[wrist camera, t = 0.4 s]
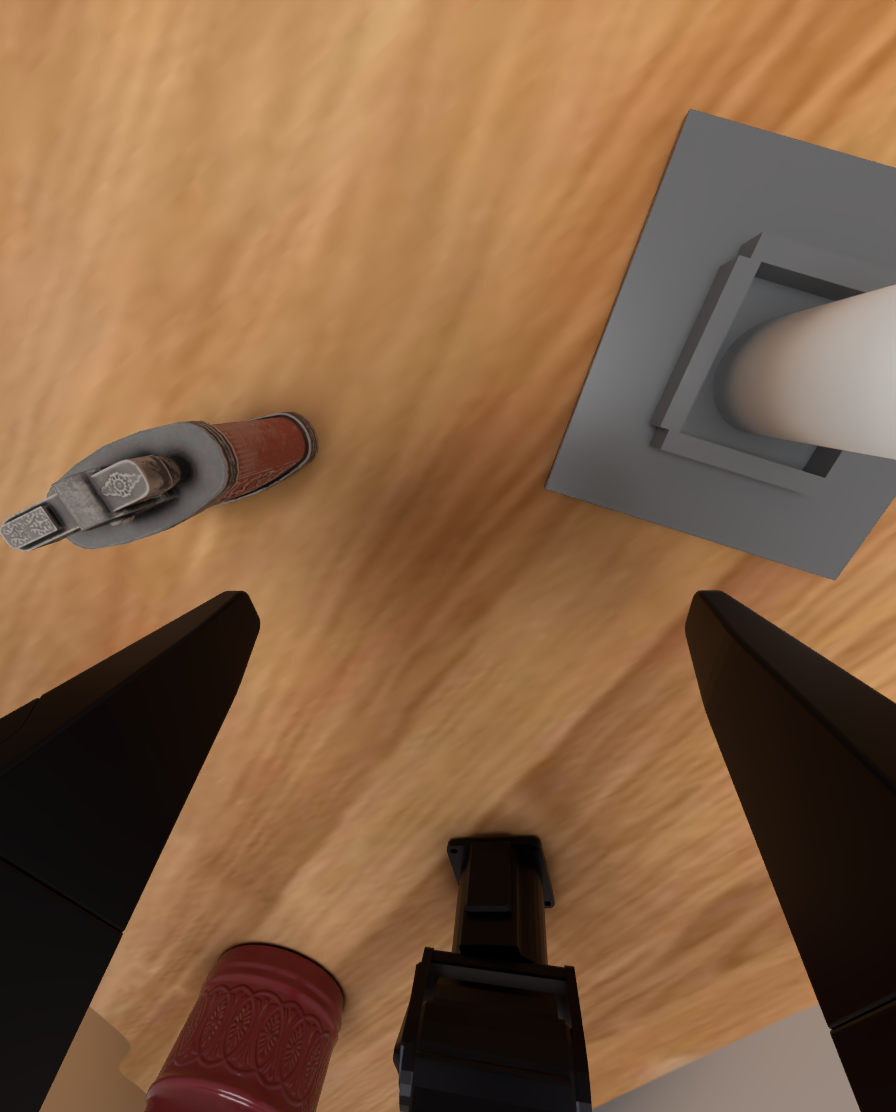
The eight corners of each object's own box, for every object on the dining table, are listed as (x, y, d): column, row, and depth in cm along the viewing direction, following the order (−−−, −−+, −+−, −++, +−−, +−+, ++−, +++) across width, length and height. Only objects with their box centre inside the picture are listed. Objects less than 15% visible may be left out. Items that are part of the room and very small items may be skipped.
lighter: (298, 396, 21) (127, 401, 12) (329, 462, 22) (195, 515, 13) (173, 457, 23) (-56, 502, 14) (207, 515, 24) (14, 593, 15)
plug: (833, 420, 18) (1370, 469, 7) (716, 445, 19) (1014, 524, 8) (838, 301, 16) (1533, 109, 5) (711, 334, 17) (1068, 233, 6)
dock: (828, 576, 20) (859, 594, 19) (544, 486, 21) (547, 495, 19) (1072, 229, 15) (1150, 206, 13) (684, 117, 15) (707, 79, 14)
